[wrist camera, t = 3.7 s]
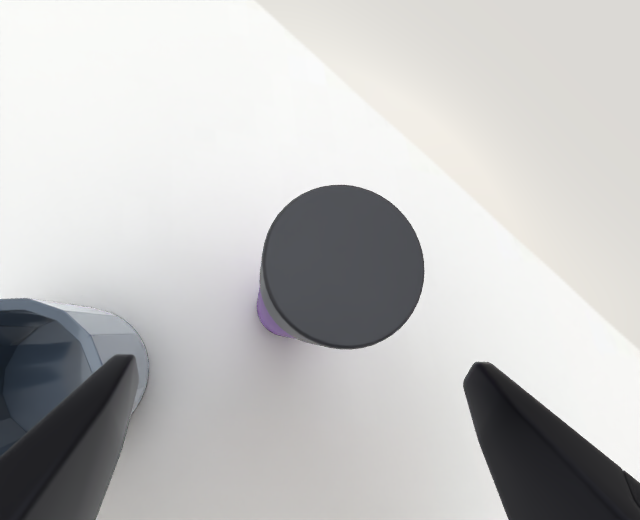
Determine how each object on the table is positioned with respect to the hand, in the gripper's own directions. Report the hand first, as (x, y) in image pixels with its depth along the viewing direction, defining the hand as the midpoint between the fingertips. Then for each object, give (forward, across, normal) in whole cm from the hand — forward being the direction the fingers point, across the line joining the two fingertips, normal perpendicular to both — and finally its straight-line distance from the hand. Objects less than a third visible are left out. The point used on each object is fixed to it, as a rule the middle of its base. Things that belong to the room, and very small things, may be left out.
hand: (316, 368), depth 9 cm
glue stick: (+8, 0, +5) cm, 10 cm away
